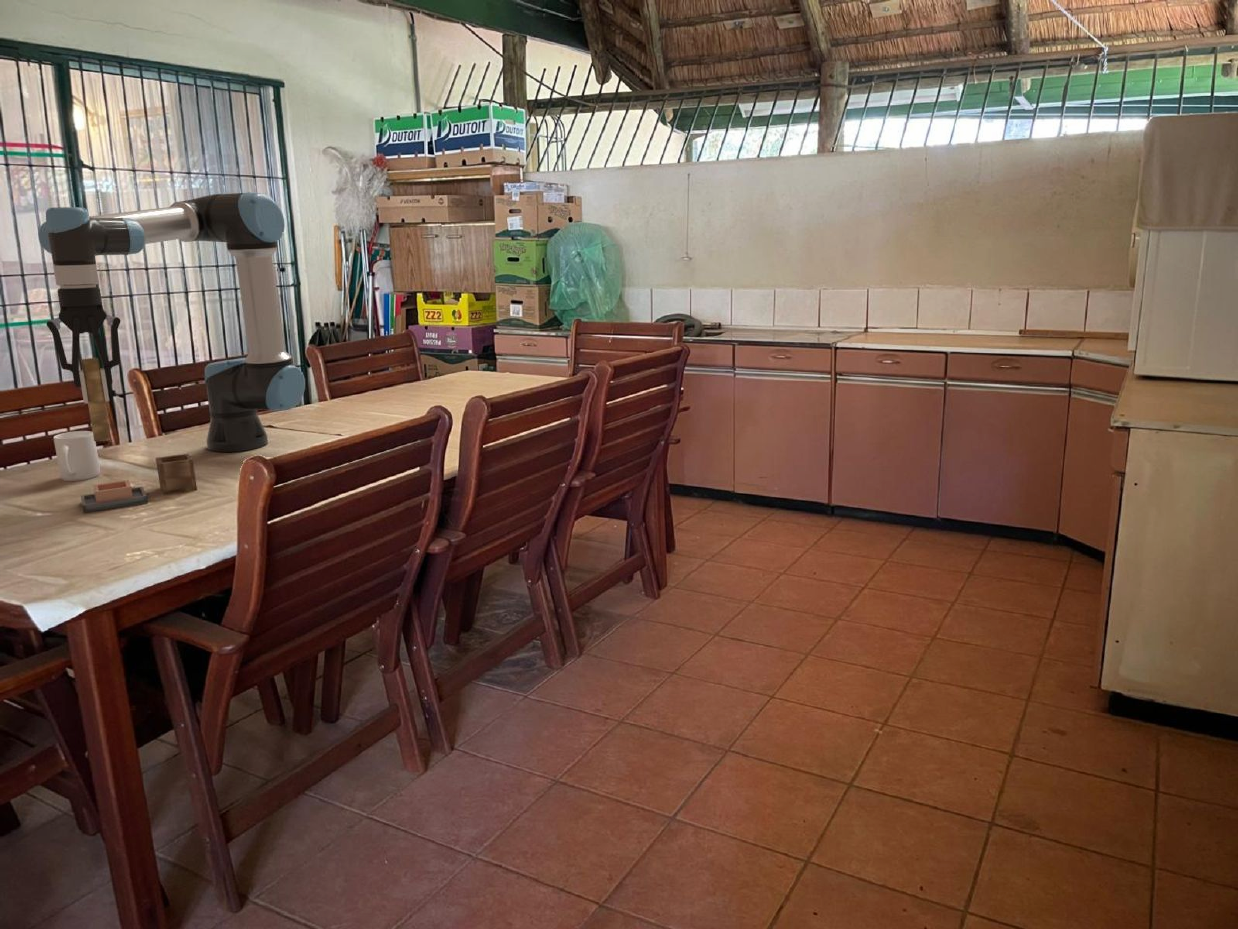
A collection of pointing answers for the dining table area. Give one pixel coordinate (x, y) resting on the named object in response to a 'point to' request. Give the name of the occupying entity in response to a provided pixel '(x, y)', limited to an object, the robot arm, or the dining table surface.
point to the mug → (77, 455)
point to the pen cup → (176, 473)
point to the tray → (92, 506)
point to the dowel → (96, 399)
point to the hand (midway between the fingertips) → (96, 401)
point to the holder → (112, 491)
